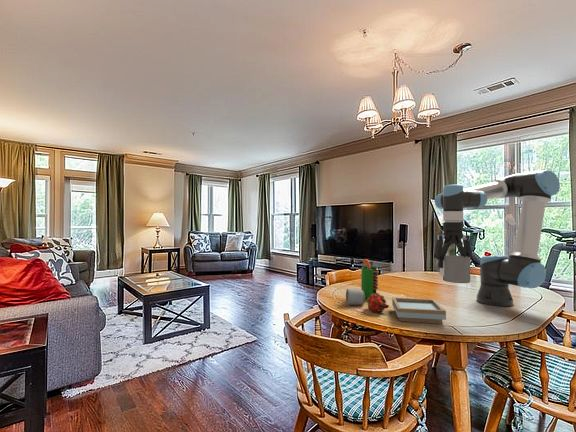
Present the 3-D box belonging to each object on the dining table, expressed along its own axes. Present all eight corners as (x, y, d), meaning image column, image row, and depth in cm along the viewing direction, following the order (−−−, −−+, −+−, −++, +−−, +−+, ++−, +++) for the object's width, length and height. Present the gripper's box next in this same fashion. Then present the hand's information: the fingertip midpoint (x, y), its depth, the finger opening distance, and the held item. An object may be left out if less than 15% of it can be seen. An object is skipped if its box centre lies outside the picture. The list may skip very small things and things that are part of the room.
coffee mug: (475, 282, 127) (475, 257, 127) (459, 284, 122) (459, 258, 122) (446, 276, 139) (446, 254, 139) (430, 278, 134) (430, 255, 135)
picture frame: (434, 311, 140) (434, 299, 140) (446, 325, 123) (446, 310, 123) (392, 309, 144) (392, 297, 144) (397, 322, 126) (397, 308, 126)
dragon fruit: (373, 310, 148) (382, 322, 136) (359, 300, 147) (367, 311, 135) (384, 296, 148) (394, 306, 136) (370, 286, 146) (379, 296, 135)
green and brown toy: (379, 300, 159) (379, 261, 160) (361, 299, 161) (361, 260, 161) (377, 295, 169) (377, 258, 169) (360, 294, 171) (360, 258, 171)
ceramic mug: (365, 306, 148) (365, 290, 149) (348, 306, 149) (348, 290, 149) (360, 301, 159) (360, 286, 159) (344, 301, 159) (344, 286, 159)
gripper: (469, 221, 136) (469, 273, 136) (424, 221, 134) (424, 274, 133) (482, 221, 129) (482, 276, 129) (434, 221, 126) (434, 277, 126)
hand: (452, 275), depth 131 cm, fingers closed on coffee mug, 8 cm apart
